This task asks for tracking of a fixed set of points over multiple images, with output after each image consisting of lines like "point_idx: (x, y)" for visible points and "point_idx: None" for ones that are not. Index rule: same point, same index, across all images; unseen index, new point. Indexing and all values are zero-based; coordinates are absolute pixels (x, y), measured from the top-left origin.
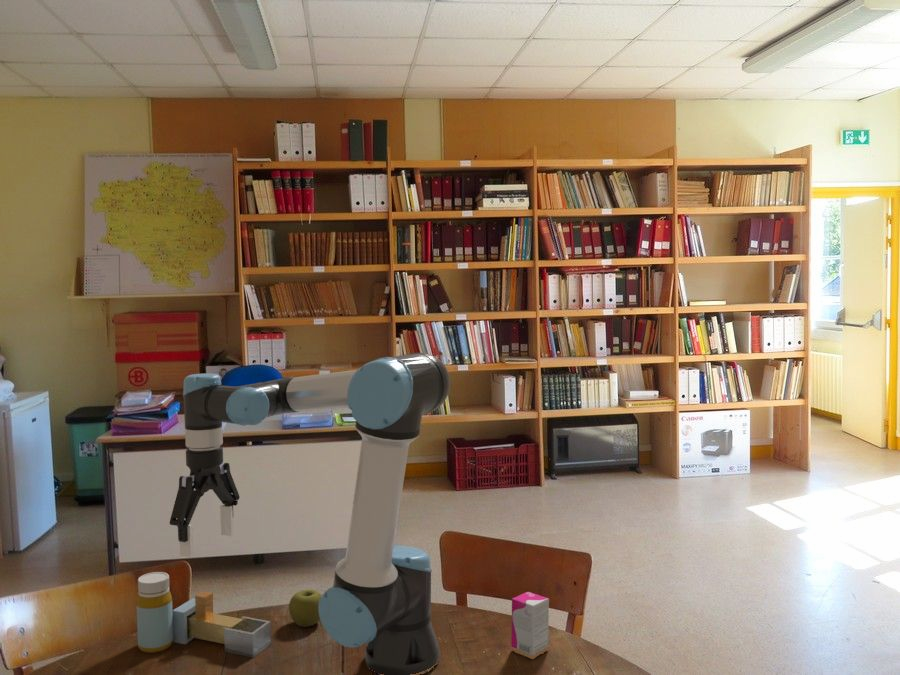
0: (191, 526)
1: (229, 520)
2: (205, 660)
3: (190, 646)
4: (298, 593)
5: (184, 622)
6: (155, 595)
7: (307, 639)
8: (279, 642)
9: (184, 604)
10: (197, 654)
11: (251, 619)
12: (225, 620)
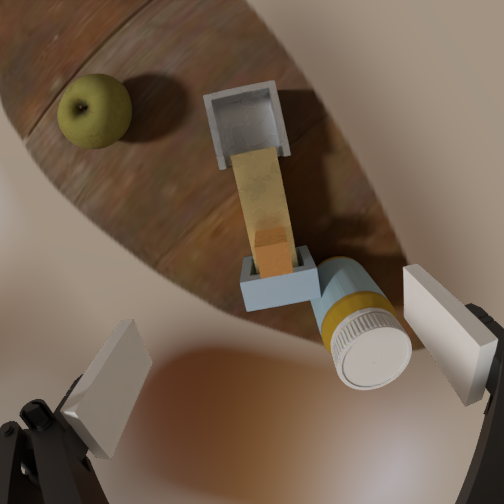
0: (483, 339)
1: (109, 367)
2: (329, 161)
3: (306, 229)
4: (89, 123)
5: (311, 260)
6: (390, 313)
7: (158, 63)
8: (196, 95)
9: (284, 300)
10: (321, 193)
11: (219, 139)
12: (258, 186)
